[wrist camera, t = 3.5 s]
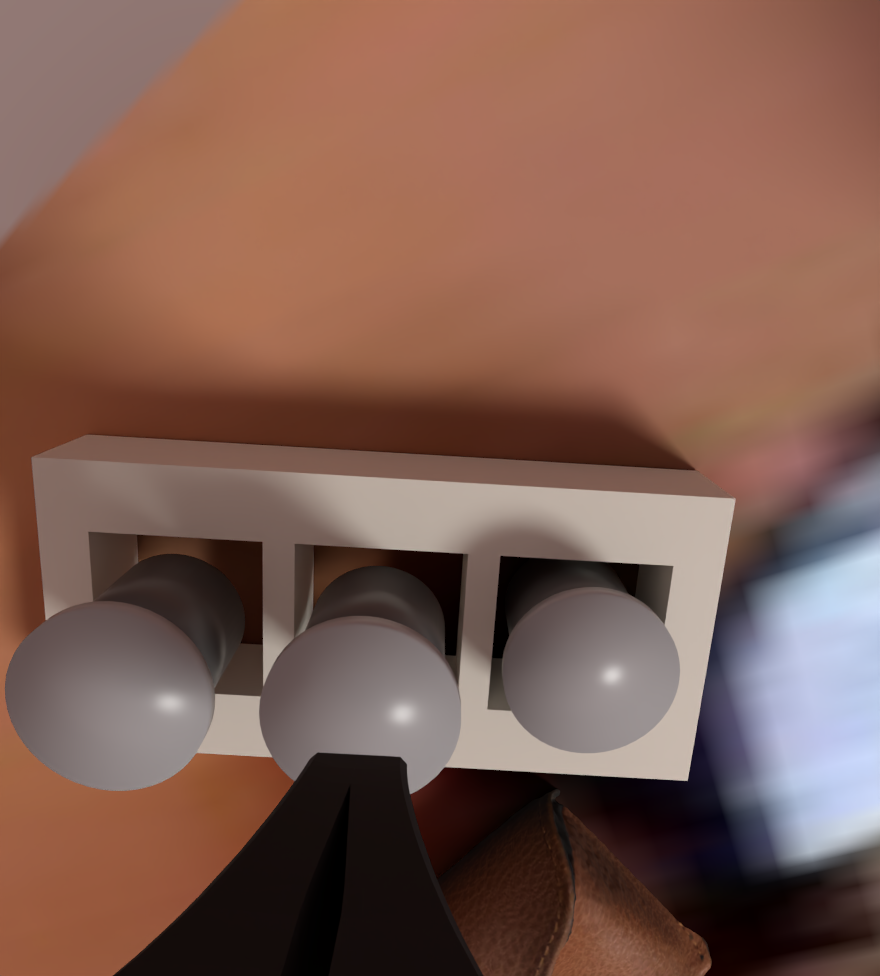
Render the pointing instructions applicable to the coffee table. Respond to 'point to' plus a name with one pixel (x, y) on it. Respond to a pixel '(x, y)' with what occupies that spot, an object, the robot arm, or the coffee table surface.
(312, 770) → the robot arm
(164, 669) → the knob
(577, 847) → the sunglasses case
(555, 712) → the knob
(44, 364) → the coffee table surface
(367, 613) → the knob middle
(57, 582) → the knob board
